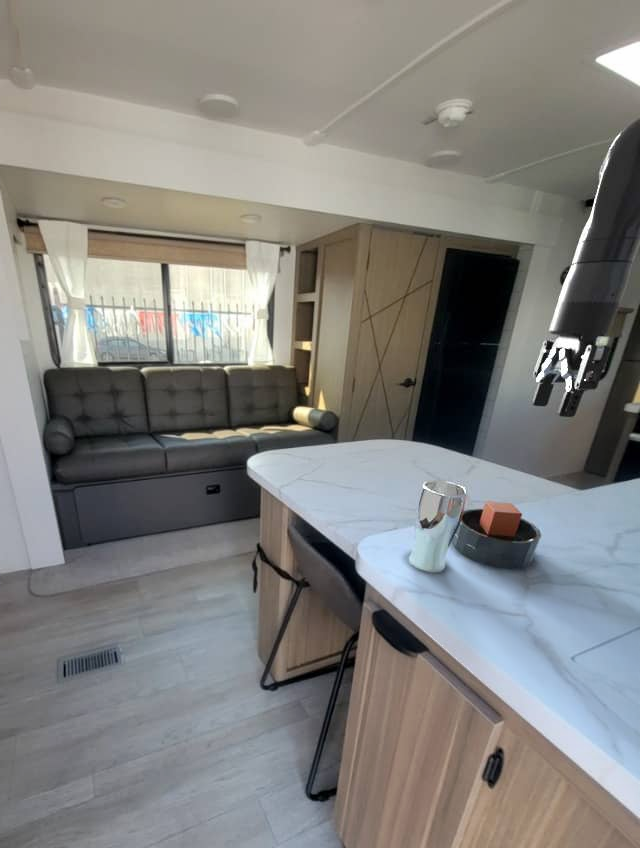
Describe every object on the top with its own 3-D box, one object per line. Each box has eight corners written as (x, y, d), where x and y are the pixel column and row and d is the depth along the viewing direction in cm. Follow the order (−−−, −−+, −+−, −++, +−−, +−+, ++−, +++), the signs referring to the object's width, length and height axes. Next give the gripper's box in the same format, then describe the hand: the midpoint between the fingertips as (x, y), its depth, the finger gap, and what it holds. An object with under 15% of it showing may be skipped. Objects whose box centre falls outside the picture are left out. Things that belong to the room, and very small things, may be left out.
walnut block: (497, 545, 78) (504, 524, 76) (507, 558, 73) (515, 536, 72) (473, 543, 78) (479, 522, 76) (481, 555, 74) (488, 534, 72)
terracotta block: (504, 524, 76) (511, 503, 74) (514, 536, 72) (522, 513, 70) (479, 522, 76) (485, 501, 74) (487, 534, 72) (494, 511, 70)
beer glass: (411, 551, 76) (428, 476, 69) (451, 564, 72) (472, 486, 66) (399, 568, 71) (416, 489, 64) (441, 582, 67) (464, 500, 60)
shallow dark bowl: (511, 538, 81) (520, 511, 78) (543, 576, 69) (556, 546, 67) (442, 532, 83) (449, 506, 80) (463, 568, 71) (471, 539, 68)
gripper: (652, 298, 53) (602, 422, 60) (588, 302, 66) (553, 403, 73) (589, 297, 54) (548, 419, 61) (538, 301, 66) (509, 401, 74)
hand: (551, 410), depth 67 cm, fingers open, 8 cm apart
